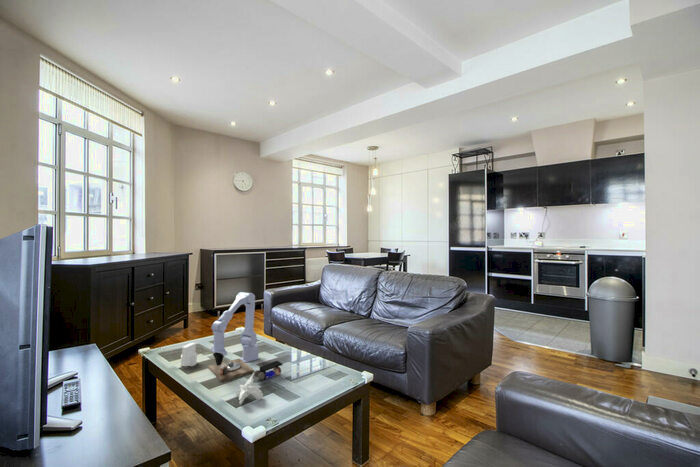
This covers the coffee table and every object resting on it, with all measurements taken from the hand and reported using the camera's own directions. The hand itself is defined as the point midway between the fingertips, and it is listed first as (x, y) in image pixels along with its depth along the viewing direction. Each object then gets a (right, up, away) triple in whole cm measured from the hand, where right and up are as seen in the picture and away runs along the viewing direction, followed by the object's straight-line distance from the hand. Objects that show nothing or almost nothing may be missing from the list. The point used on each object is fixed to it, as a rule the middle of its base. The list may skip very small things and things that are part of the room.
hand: (219, 365), depth 189 cm
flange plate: (+5, -3, +2) cm, 6 cm away
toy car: (+30, -5, -6) cm, 31 cm away
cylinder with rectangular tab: (-25, -5, +14) cm, 29 cm away
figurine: (+27, -5, -30) cm, 41 cm away
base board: (+5, -5, +5) cm, 8 cm away
